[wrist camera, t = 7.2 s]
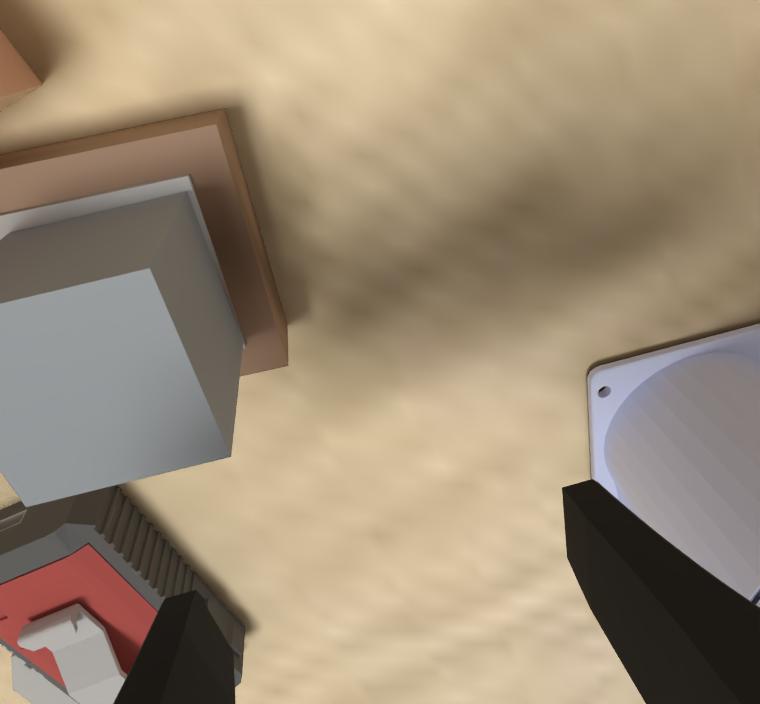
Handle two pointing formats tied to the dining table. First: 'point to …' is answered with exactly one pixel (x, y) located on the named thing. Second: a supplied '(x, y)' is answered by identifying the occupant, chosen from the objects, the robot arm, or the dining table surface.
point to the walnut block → (154, 180)
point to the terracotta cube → (14, 74)
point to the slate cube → (113, 351)
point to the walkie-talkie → (88, 595)
